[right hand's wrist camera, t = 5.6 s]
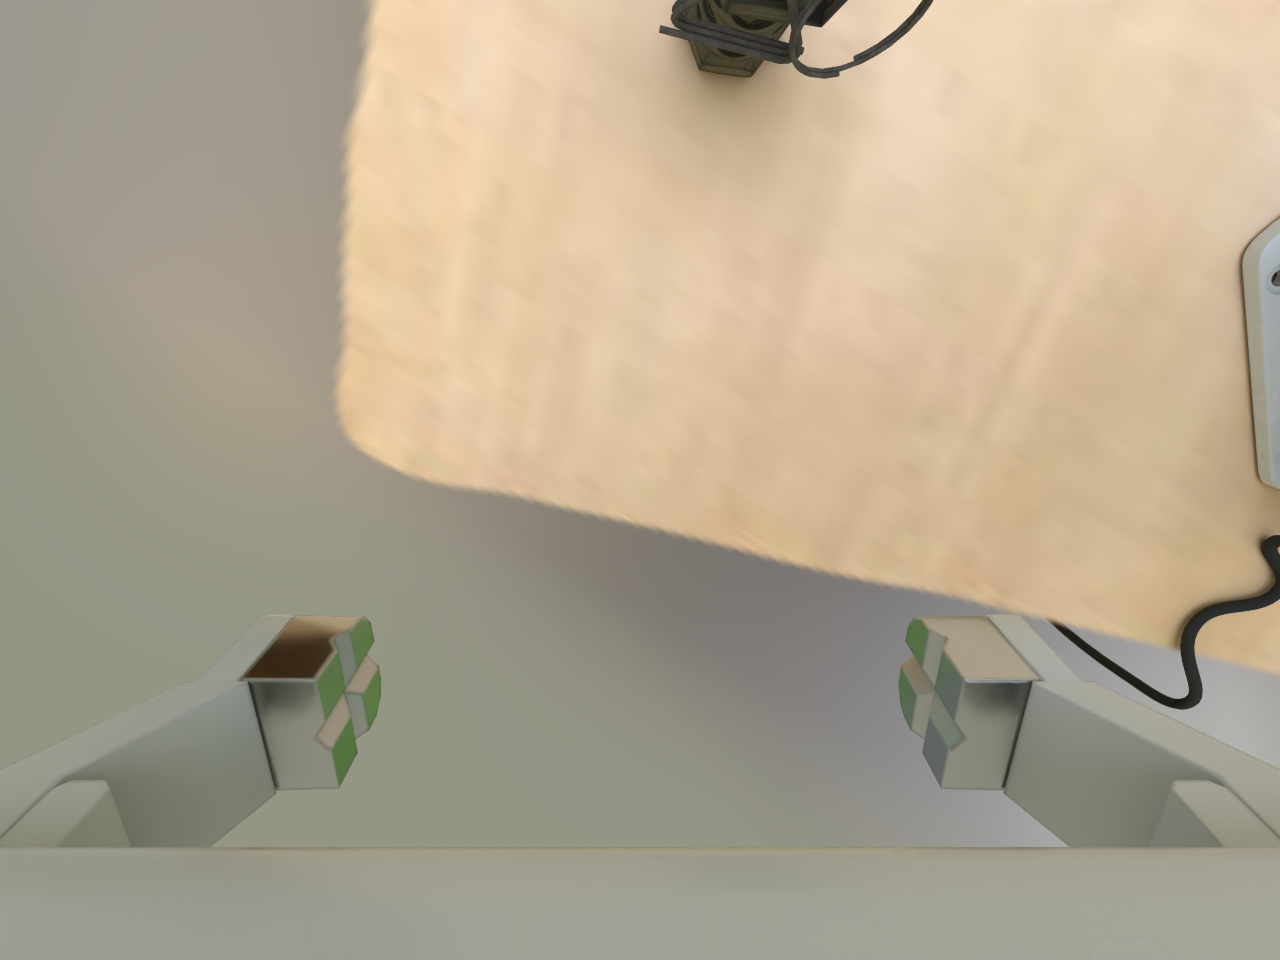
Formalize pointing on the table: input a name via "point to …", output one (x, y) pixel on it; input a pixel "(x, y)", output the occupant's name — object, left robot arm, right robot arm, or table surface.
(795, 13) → the grenade
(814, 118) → the table surface
